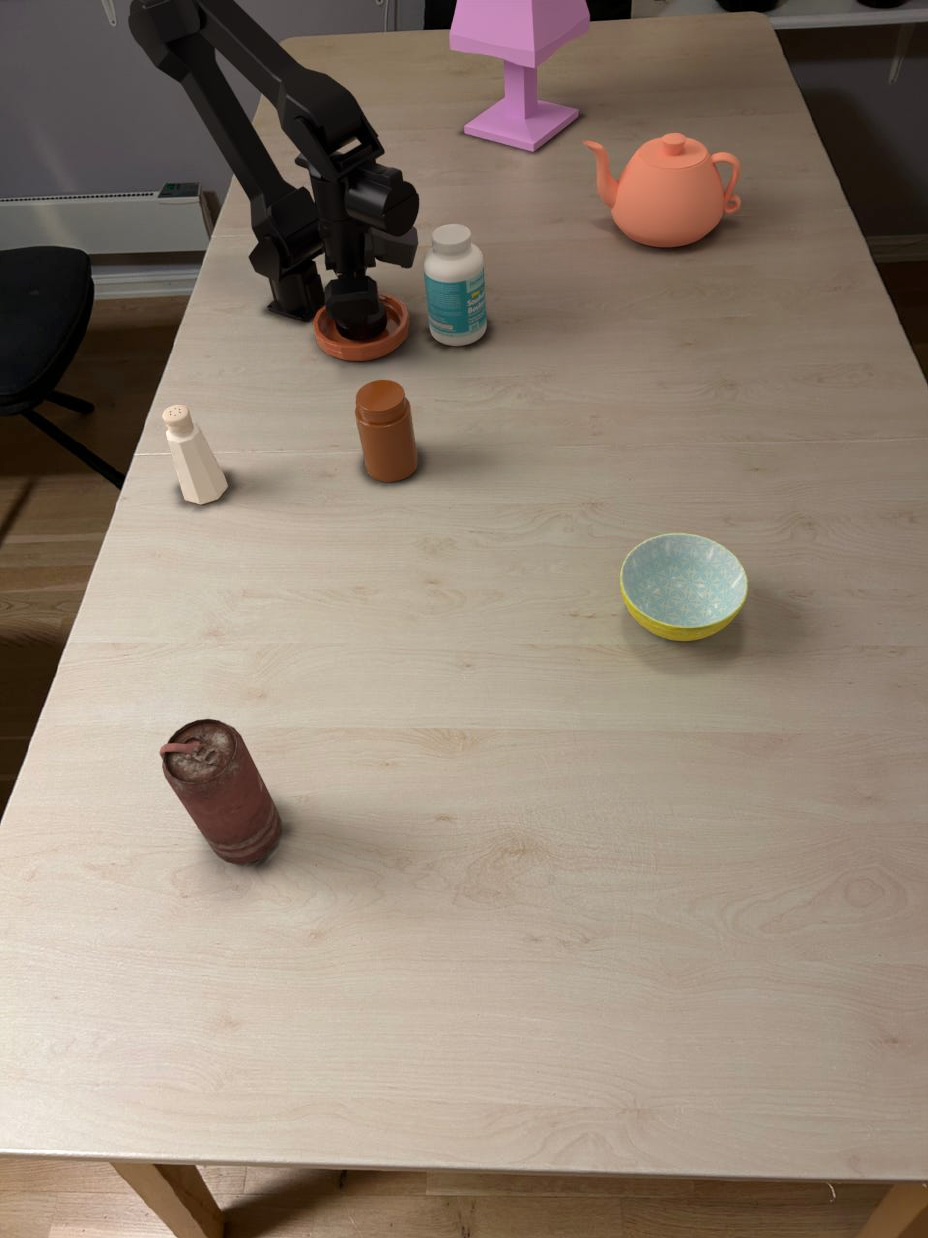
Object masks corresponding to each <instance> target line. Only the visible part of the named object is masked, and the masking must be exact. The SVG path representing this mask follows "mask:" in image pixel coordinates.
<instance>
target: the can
mask: <svg viewBox="0 0 928 1238" xmlns="http://www.w3.org/2000/svg"><path fill="white" fill-rule="evenodd" d="M158 752H159V755H160V756H159V757H160V758H161V759H162V764H161V769H162V772H163V775H164V778H165V780H166V782H167V783H168V784H169V786H170V787H171V789H172V790H173V792H174V794H175V795H176V797H177V798H178V800H179V801H180V803H181V804H182V806H183V807H184V809H185V810H186V812H187V814H188V815H189V816H190V818H191V819H192V821H193V823H194V825H196V827H197V829H198V830H199V832H200V833H201V835H202V836H203V838H204V839H205V841H206V842H207V844H208V845H209V847H210V848H211V850H212V851H213V852H214V854H215V855H216V857H218V858H219V859H221V860H223V861H225V862H226V863H229V864H235V865H243V864H250V863H252V862H255V861H257V860H260V859H261V858H263V857H264V856H265V855H267V854H268V853H269V852H271V851H272V849H273V848H274V846H275V845H276V843H277V842H278V841H279V838H280V834H281V831H282V818H281V815H280V812H279V810H278V808H277V806H276V804H275V802H274V800H273V798H272V795H271V794H270V792H269V790H268V787H267V786H266V784H265V782H264V780H263V777H262V775H261V773H260V771H259V769H258V767H257V765H256V763H255V761H254V759H253V756H252V755H251V753H250V750H249V749H248V747H247V745H246V742H245V740H244V738H243V737H242V735H241V733H239V731H237V729H236V728H235V727H234V726H232V725H231V724H228V723H226V722H223V721H221V720H220V719H213V718H201V719H195V720H193V721H191V722H188V723H185V724H184V725H183V726H181V727H180V728H178V729H177V730H176V731H175V732H174V733H173V734H172V735H171V737H170V738H169V739H168V740H167V742H166V743H165V744H163V745H162V746H161V747H160V749H159V751H158Z"/></svg>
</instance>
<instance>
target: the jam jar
mask: <svg viewBox="0 0 928 1238" xmlns="http://www.w3.org/2000/svg"><path fill="white" fill-rule="evenodd" d="M354 416H355V419H356V426H357V430H358V431H357V432H358V436H359V440H360V445H361V450H362V456H363V460H364V461H363V462H364V465H365V470H366V472H367V474H368V475H369V476H370V477H371V478H372V479H374V480H376V481H379V482H382V483H383V482H384V483H394V482H395V483H396V482H399V481H403V480H405V479H406V478H408V477H410V476H412V474H414V472H416V470H417V468H418V465H419V457H418V449H417V444H416V443H417V442H416V437H415V429H414V422H413V414H412V408H411V403H410V400H409V399H408V398H407V397H406V393H405V389H404V387H403V386H402V385H401V384H399V382H397V381H394V380H391V379H390V380H389V379H378V380H372V381H370V382H368V383H366V384H364V385H362V386H361V387H360V388H359V389H358V391H357V392H356V395H355V408H354Z"/></svg>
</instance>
